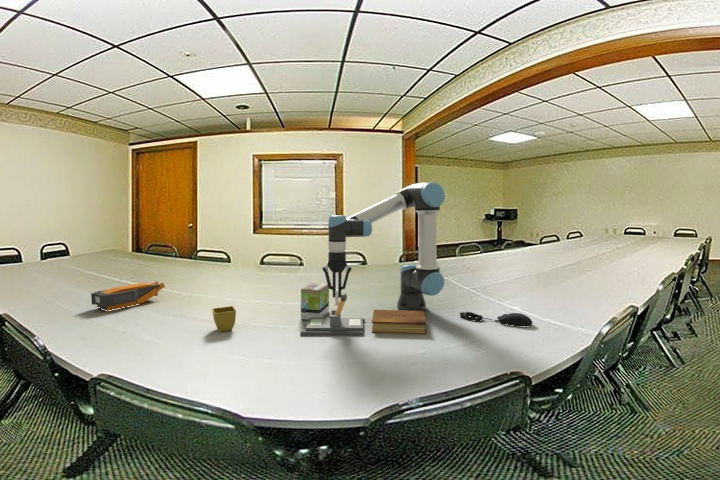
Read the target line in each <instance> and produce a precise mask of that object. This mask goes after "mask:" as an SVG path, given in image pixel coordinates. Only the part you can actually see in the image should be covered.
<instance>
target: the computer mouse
mask: <svg viewBox="0 0 720 480" xmlns="http://www.w3.org/2000/svg"><path fill="white" fill-rule="evenodd" d="M469 316H471V317H469ZM459 317H460V318H461V319H464V320H465V319H466V320H468V319H469V321H471V320H475V321H474V322H481V321H480V320H483V319H485V320H490V321H492V320H493V319H492V318H487V317H483V315H480V314H477V313H475V312H471V311H463V312H462V311H460V312H459ZM472 317H477V318H472ZM496 318H497V319H494V320H495V321H494V322H496V321H499V322H498V323H500V324H501V325H502V324H508V325H514V326H513V327H515V326H526V327H525V328H528V327H527V326H530V327H531V326H532V325H533V324H534V323H533V321H532V319H531V317H529V316H527V315H525V314H523V313H520V312H512V313H504V314H502V315H500V316H497V317H496ZM508 325H507V326H508Z"/></svg>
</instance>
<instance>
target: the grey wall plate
mask: <svg viewBox="0 0 720 480" xmlns="http://www.w3.org/2000/svg"><path fill="white" fill-rule="evenodd" d="M362 318H363V317H362ZM309 319H310V318H309ZM309 319H308V320H307V323H308V322H309ZM365 320H366V319H365V318H363V323H365ZM299 335H300V336H301V337H302V336H303V337H305V336H307V337H308V336H309V337H310V336H311V337H312V336H314V337H315V336H316V337H317V336H319V337H320V336H321V337H324V336H333V337H335V336H340V337H341V336H345V337H346V336H349V337H352V336H353V337H354V336H358V337H359V336H364V330H363V331H306V330H305V331H304V330H301V331H300V334H299Z"/></svg>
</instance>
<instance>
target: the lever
mask: <svg viewBox="0 0 720 480" xmlns="http://www.w3.org/2000/svg"><path fill="white" fill-rule="evenodd" d="M339 299H340V300H339V305H338V306H337V308H336V309H337V310H336V313H335V315H340V314H341V315H342V311H343V308H344V305H345V303H346V302H347V299H348V294H347V293H345V292H341V298H339Z"/></svg>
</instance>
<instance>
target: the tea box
mask: <svg viewBox="0 0 720 480" xmlns="http://www.w3.org/2000/svg"><path fill="white" fill-rule="evenodd" d="M329 311H330V289H329V288H328V284H327V283H319V282H317V283H315V282H313V283H312V282H311V283H309V284H308V285H306V286H304V287H303V288H301V289H300V319H301V320H307V321H308V319H309V318H324V317H325V316H326V315H327V314H328V313H329Z"/></svg>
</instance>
